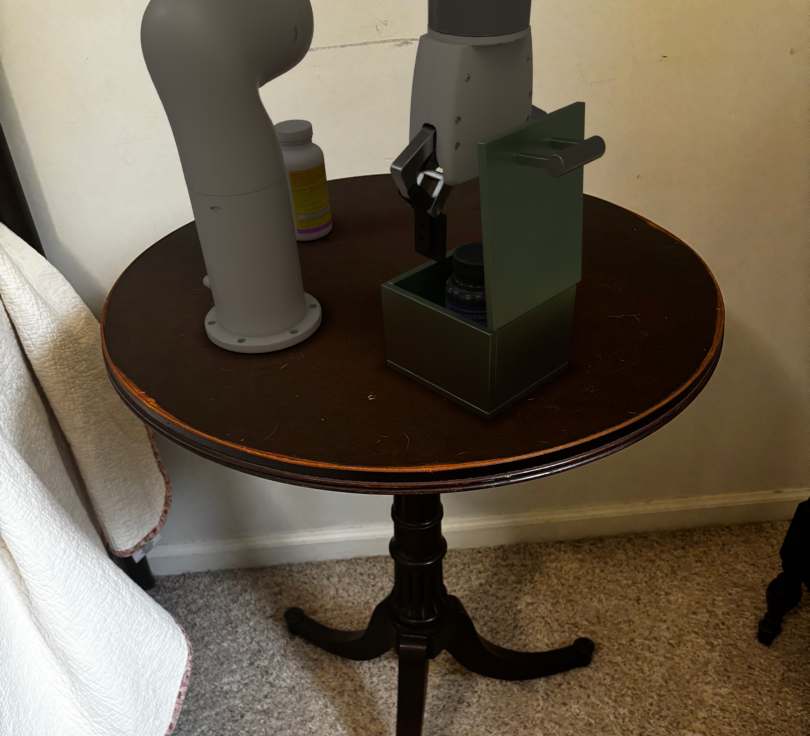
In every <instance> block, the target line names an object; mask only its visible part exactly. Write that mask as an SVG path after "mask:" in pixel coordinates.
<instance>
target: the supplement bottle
mask: <svg viewBox="0 0 810 736" xmlns="http://www.w3.org/2000/svg"><path fill="white" fill-rule="evenodd" d="M274 126H275V129H276V131H277V133H278V136H279V139H280V143H281V147H282V152H283V157H284V164H285V170H286V175H287V182H288V188H289V195H290V202H291V208H292V215H293V222H294V228H295V235H296V242H308V241H315V240H319V239H320V238H323V237H326V235H328V234H330V232H331V231H332V228H333V218H332V217H333V216H332V210H331V202H330V201H331V200H330V195H329V186H328V185H329V184H328V179H327V178H328V177H327V170H326V162H325V155H324V154H325V153H324V151H323V149H322V148H321V147H320V145H318V144H316V143H315V142H313V136H314V130H313V124H312V121H311V122H310V121H309V120H307V119H287V120H282V121H279V122H276V123H275V124H274Z"/></svg>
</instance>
